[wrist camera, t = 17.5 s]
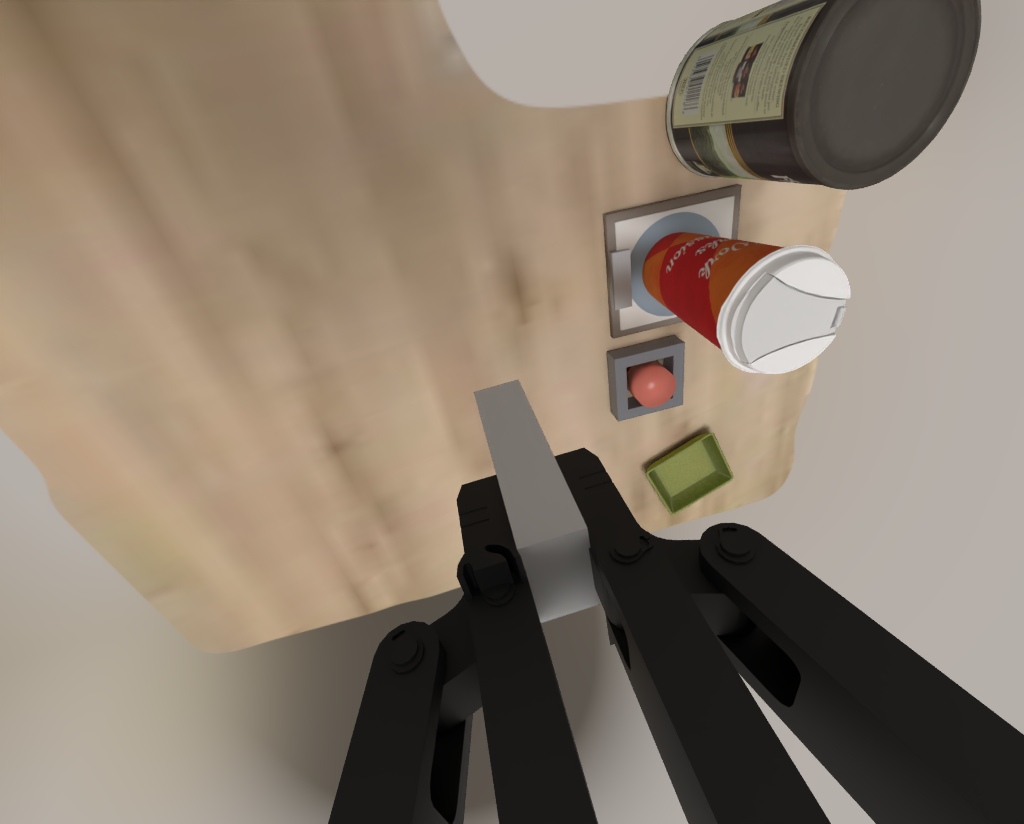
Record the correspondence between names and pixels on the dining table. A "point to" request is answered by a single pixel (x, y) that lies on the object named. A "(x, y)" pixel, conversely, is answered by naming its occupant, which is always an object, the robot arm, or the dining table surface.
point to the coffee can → (822, 89)
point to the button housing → (639, 354)
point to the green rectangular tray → (689, 472)
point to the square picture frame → (639, 233)
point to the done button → (651, 383)
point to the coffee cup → (750, 297)
